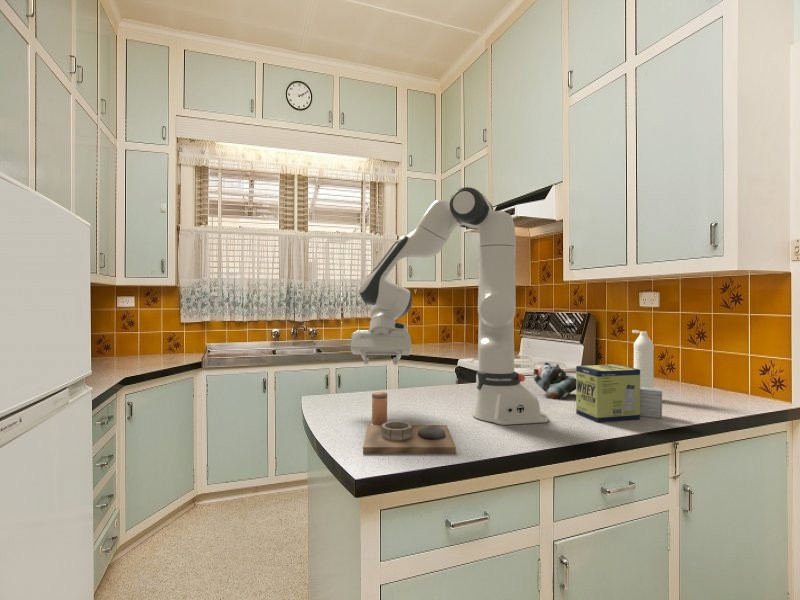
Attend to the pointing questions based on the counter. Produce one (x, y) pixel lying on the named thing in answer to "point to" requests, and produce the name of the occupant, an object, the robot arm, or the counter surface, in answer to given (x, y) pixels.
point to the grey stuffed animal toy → (554, 381)
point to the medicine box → (650, 402)
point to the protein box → (608, 392)
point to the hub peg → (379, 408)
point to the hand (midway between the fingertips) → (380, 363)
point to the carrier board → (408, 438)
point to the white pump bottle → (644, 358)
